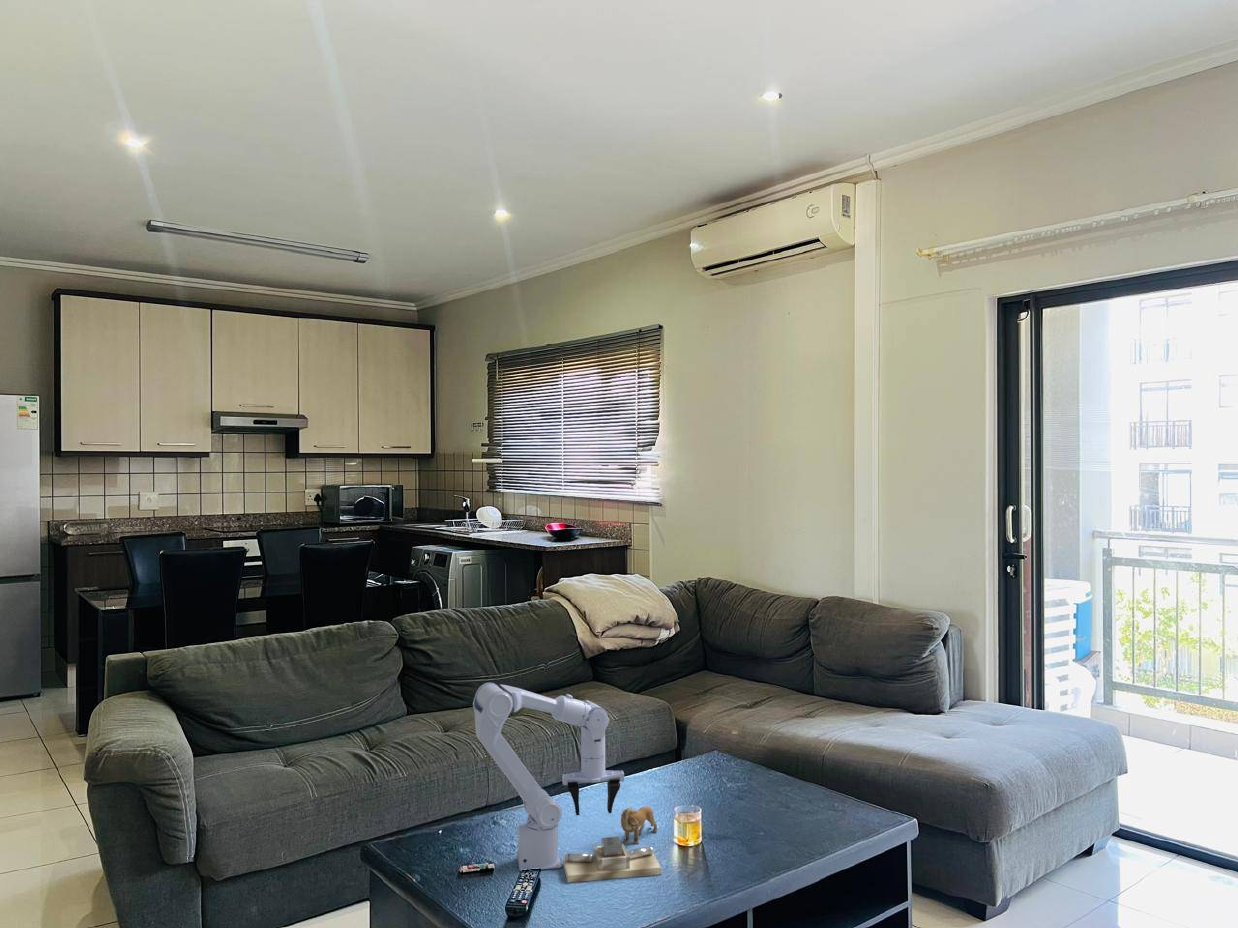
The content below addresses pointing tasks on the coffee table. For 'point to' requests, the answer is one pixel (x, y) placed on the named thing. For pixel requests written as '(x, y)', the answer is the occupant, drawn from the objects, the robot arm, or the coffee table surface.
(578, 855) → the shaft left
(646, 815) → the lion figurine
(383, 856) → the coffee table surface
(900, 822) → the coffee table surface
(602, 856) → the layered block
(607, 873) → the shaft board
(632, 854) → the shaft right
